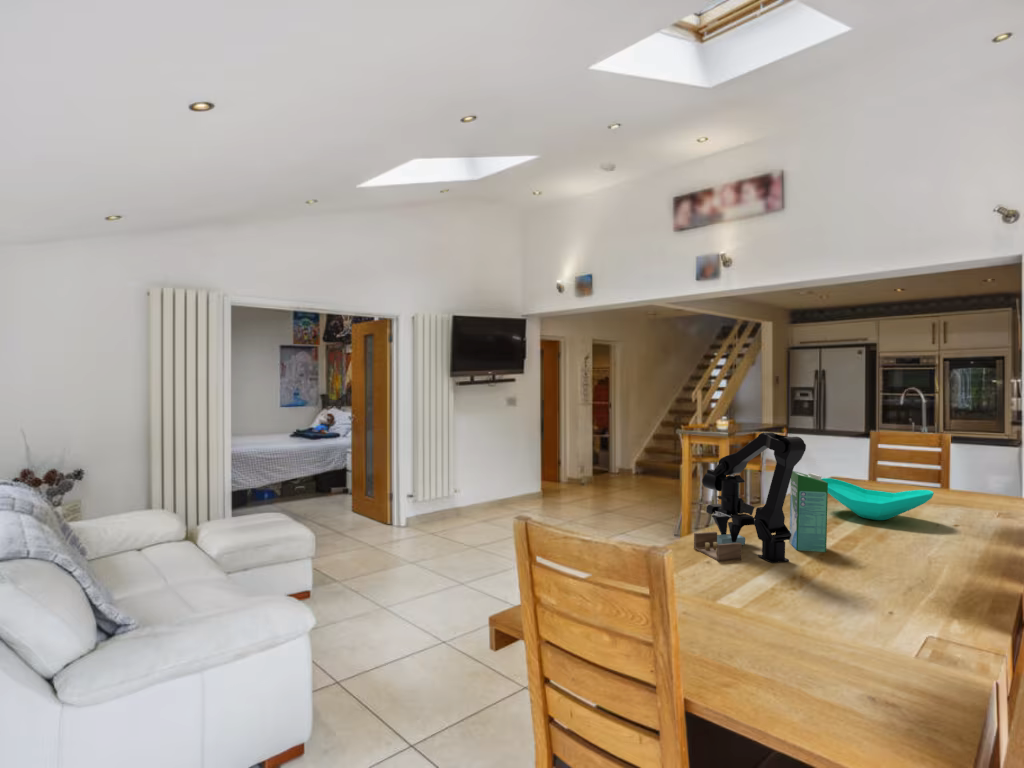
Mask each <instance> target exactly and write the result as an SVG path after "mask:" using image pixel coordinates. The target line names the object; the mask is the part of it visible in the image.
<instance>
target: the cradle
mask: <svg viewBox="0 0 1024 768" xmlns="http://www.w3.org/2000/svg"><path fill="white" fill-rule="evenodd" d="M693 535H694V536H693V549H694V548H695V549H694V550H696V549H697V550H696V551H698V552H700V553H702V554H704V555H706V556H708V557H710V558H712V559H714V560H715V561H717V562H727V561H738V560H742V543H727V544H718V543H717V535H718V532H717V531H708V532H707V531H705V532H694V534H693Z"/></svg>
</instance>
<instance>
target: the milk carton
mask: <svg viewBox="0 0 1024 768" xmlns="http://www.w3.org/2000/svg"><path fill="white" fill-rule="evenodd" d="M822 478H823V477H822V475H820V474H816V473H814V472H808V474H806V473H802V472H799V471H795V470H793V472H792V475H791V479H790V499H789V501H790V502H789V504H790V505H789V531H790V533H791V537H790V540H788V543H789V544H791V546H792V547H793V548H794V549H795V550H796V551H801V552H803V551H804V552H817V553H827V542H828V541H827V539H828V538H827V536H828V535H827V533H828V531H827V529H828V502H829V501H828V500H829V499H828V496H829V495H828V494H829V493H828V483H827V482H825V481H823V480H822Z"/></svg>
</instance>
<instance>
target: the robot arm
mask: <svg viewBox="0 0 1024 768" xmlns="http://www.w3.org/2000/svg"><path fill="white" fill-rule="evenodd" d="M767 449H768V450H771V451H773V456H774V459H775V467H774V471H773V475H772V478H771V482H770V485H769V490H768V493H767V497H766V500H765V505H763V506H758V507H756V509H755V506H754V505H751V504H748V503H745V502H744V499H743V498H742V497H740V484H742V483H745V479H744V478H743V477H742V476H741V475H740V474H741V473H742V472H743V471H744V470H745V469H746V468H747V465H748V463H749V462H750V461H752V460H753V459H754V458H756V457H757V456H758V455H760V454H762V452H765V450H767ZM806 449H807V445H806V442H805V441H804V440H803V438H801V437H799V436H788V435H782V434H778V433H775V432H773V431H771V432H761V433H759V434H758V435H757V437H755V438H754V439H752V440H751V441H750V442H748V443H747V444H746V445H745V446H743V447H742V448H740V449H739V450H738V451H737V452H734V453H731V454H728V455H725V456H724V457H723V456H722V457H721V458H720V459H719V460H718V464H717V465H716V467H715V468H714V469H707V470H706V473H705V474H704V475H703V478H702V479H701V481H702V486H703V487H704V488H705V489H708V490H713V491H716V492H720V495H718V498H717V499H718V500H720V503H712V504H708V505H707V506H706V513H707V514H709V515H711V517H712V519H713V520H714V522H715V524H716V526H717V528H718V531H719V532H720V535H723V534H728V533H727V532H728V531H729V534H730V535H731V539H732V542H736V540H737V537H738V535H740V532H741V530H742V528H743V527H744V526H754V527H755V530H756V531H755V532H756V535H757V539H758V540H760V541H761V542H762V543H761V554H758V555H757V556H758V558H760V559H763V560H765V561H768V562H770V563H771V564H773V563H774V564H776V563H785V562H790V559H789V558H786V541H789V540H790V537H791V533H790V529H789V528H788V527H787V526H786V524H785V522H786V521H785V518H786V517H785V514H784V510H783V508H784V504H785V500H786V497H787V493H788V489H789V485H790V484H791V475H792V472H793V471H794V468H795V466H797V464H798V463H799V462H801V460H802V458H803V456H804V454H805V452H806ZM736 474H737V475H736ZM754 509H755V510H754ZM754 511H755V515H754V516H753V513H754ZM730 519H731V521H730ZM728 529H729V530H728Z"/></svg>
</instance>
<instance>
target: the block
mask: <svg viewBox="0 0 1024 768" xmlns="http://www.w3.org/2000/svg"><path fill="white" fill-rule="evenodd" d="M717 543H718V544H727V543H742V545H743V546H744V544H745V545H746V537H745V536H742V535H740V534H739V535H738V537H737V540H736V542H732V539H731V535H730V533H726V534H723V535H721V534H717Z"/></svg>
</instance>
